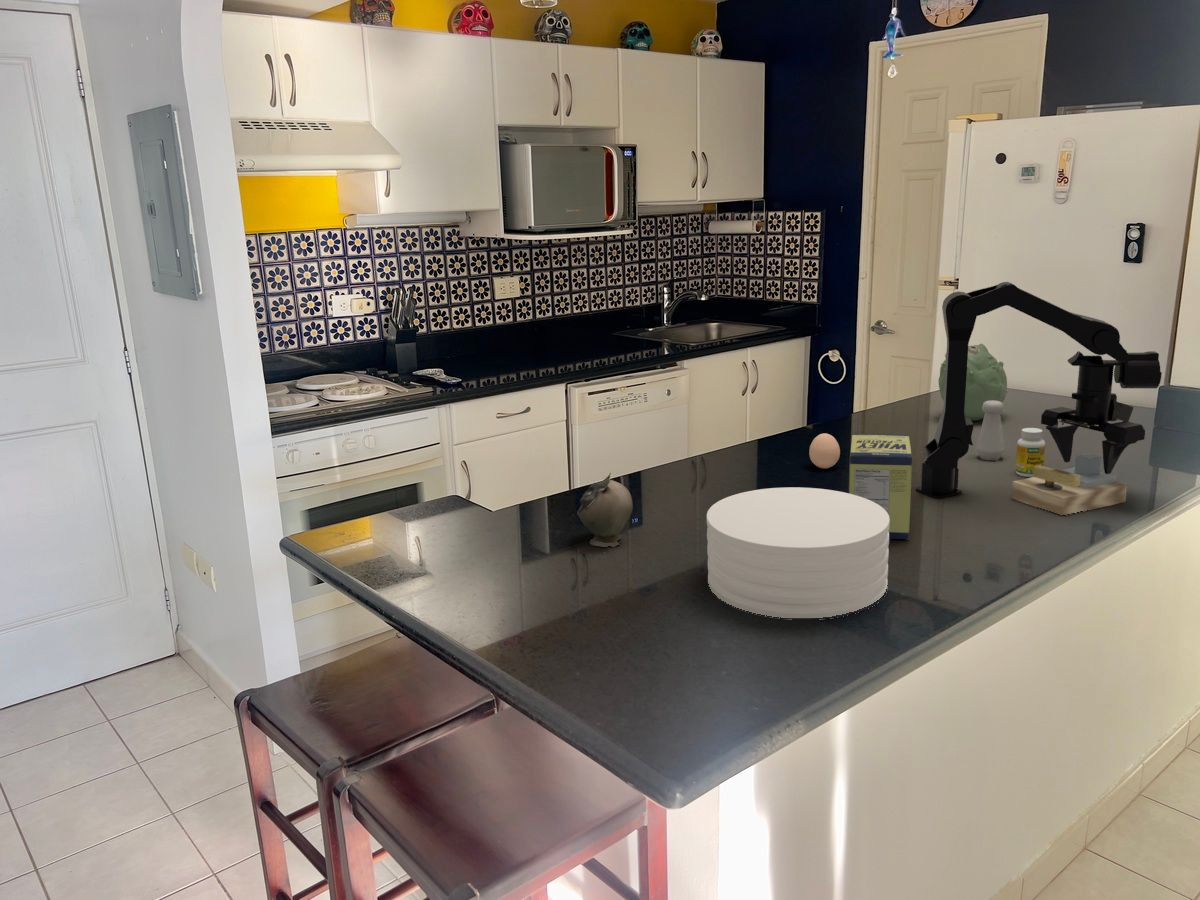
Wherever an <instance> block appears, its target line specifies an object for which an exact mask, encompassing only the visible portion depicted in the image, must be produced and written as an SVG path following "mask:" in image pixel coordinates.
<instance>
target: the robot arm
mask: <svg viewBox="0 0 1200 900" xmlns="http://www.w3.org/2000/svg"><path fill="white" fill-rule="evenodd" d="M1005 306H1008V307H1010V308H1012V309H1014V310H1017V311H1019V312H1021V313H1023V314H1026V315H1027V316H1029V317H1031V318H1034V319H1036V320H1038V321H1039V322H1042V323H1044V324H1047V325H1048V326H1050V327H1053V328H1054V329H1056V330H1059V331H1061V332H1063V333H1065V335H1067V336H1068V337H1069V338H1071V339H1072V340H1074V341H1076V342H1077V343H1078V344H1080V345H1081V346H1082V347H1083V348H1085V349H1086V350H1088V351H1089V352H1091V354H1092V353H1093V354H1094V355H1084V354H1083V352H1081V351H1079V350H1078V351H1076V353H1075V354H1074V355H1073V356H1071V357H1069V358H1068V359H1067V363H1068V364H1070V365H1071V366H1073V367H1078V377H1077V386H1076V387H1077V388H1076V392H1072V393H1071V399H1072V400H1075V409H1073V408H1070V407H1065V406H1058V407H1054V408H1048V409H1045V410H1044V411H1043V412H1042V413H1041V419H1040V424H1041V425H1045V429H1046V430H1047V431H1049V433H1050V435H1051V436H1052V439H1053V440H1054V442H1055V444H1056V446H1057V448H1058V450H1059V453H1060V455H1061V457H1062V460H1063V462H1064V463H1070V462H1071V459H1072V452H1073V446H1074V445H1073V443H1074V435H1075V433H1076V432H1077V430H1078V428H1079V427H1080V428H1083V429H1088V430H1092V431H1097V432H1101V433H1103V437H1104V438H1105V440H1102V441H1101V444H1102V446H1101V447H1102V448H1101V449H1102V459H1103V460H1102V462H1103V463H1102V464H1103V470H1104V471H1103V472H1104V473H1105V474H1111V473H1112V472H1113V469H1114V468H1115V466H1116V464H1117V462H1118V460H1119V458H1120V457H1121V454H1123V452H1124V450H1125V449H1126V448H1128V446H1130V445H1132V444H1136V443H1137V442H1139V441H1143V440H1145V436H1146V429H1145V427H1144V426H1143V425H1142V424H1141V423H1136V422H1132V421H1130V418H1131V416H1132V413H1133V411H1134V406H1132V405H1128V404H1126V403H1122V402H1119V401H1117V400H1118V396H1117V394H1116V393H1113V392H1112V390H1113V389H1112V388H1113V380H1114V382H1115V384H1119V387H1120V388H1121V389H1158V388H1159V386H1160V384H1161V381H1162V374H1163V372H1162V371H1161V363H1160V360H1159V359H1160V358H1159V357H1160V354H1159V353H1158V352H1156V351H1153V350H1152V351H1150V350H1149V351H1145V352H1128V351H1127V350H1126V349H1125V348H1124V346H1123V345H1122V344H1121V336H1120V335H1121V334H1120V331H1119V329H1118V328H1117V327H1115V326H1114V325H1112V324H1110V323H1108V322H1106V321H1104V320H1102V319H1099V318H1094V317H1090V316H1087V315H1083V314H1078V313H1073V312H1071V311H1069V310H1067V309H1065V308H1062V307H1060V306H1059V305H1058V306H1057V305H1056V304H1053V303H1051V302H1050V301H1047V300H1045V299H1042V298H1040V297H1038V296H1036V295H1034V294H1032V293H1030V292H1028V291H1026V290H1023V289H1022V288H1020V287H1018V286H1017V285H1015V284H1013V283H1012V282H1009V281H1002V282H1000V283H998V284H995V285H993V286H988V287H985V288H981V289H975V290H972V291H970V292H967V293H966V292H964V291H955V292H951V293H950V294H948V296H946V297H945V298H944V300H943V302H942V306H941V307H942V316H943V317H942V318H943V323H944V330H945V335H946V353H945V354H946V358H945V359H946V370H945V387H944V401H943V407H942V412H941V413H940V414H941V415H940V417H939V420H938V423H937V427H936V432H935V436H934V438H933V439H932V440H931V441H929V442H928V443H927V444H926V445H924V446H923V452H924V455H925V458H926V459H925V461H924V462H922V464H921V482H920V483H921V486H918V487H915V491H917V492H920V493H922V494H924V495H927V496H930V497H933V498H935V499H941V498H945V497H950V496H956V495H960V494H963V491H962V490H961V489H959V488H958V487H959V467H958V464H959V460H960V459H962V458H963V457H964V456H965V455H967V453H969V448H970V446H973V445H974V444H973V441H972V435H973V430H974V427H975V426H974V423H973V421H971V419H970V418H965V415H964V407H965V391H966V376H967V360H968V346H969V345H970V344H969V343H970V339H971V338H972V334H973V331H974V329H975V324H976V321H977V317H979V316H982V315H985V314H987V313H990V312H993V311H995V310H997V309H999V308H1003V307H1005ZM1104 355H1108V356H1109V357H1111V358H1112V359H1103V357H1102V356H1104ZM1118 420H1119V422H1115V421H1118ZM1109 422H1111V423H1109ZM1112 422H1113V423H1112Z"/></svg>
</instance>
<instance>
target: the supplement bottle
mask: <svg viewBox="0 0 1200 900" xmlns="http://www.w3.org/2000/svg"><path fill="white" fill-rule="evenodd" d="M1020 431H1021V433H1020V435H1021V437H1020V438H1019V439H1018V440H1017V443H1016V444H1017V445H1016V460H1015V474H1017V475H1018V476H1021V477H1025V478H1032V477H1033V472H1034V466H1038V465H1041V466H1045V457H1046V456H1045V455H1046V441H1045V440H1044V439H1042V438H1043V432H1044V431H1043V430H1042V428H1036V427H1025V428H1022V429H1021V430H1020Z"/></svg>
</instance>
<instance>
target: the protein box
mask: <svg viewBox="0 0 1200 900" xmlns="http://www.w3.org/2000/svg"><path fill="white" fill-rule="evenodd" d="M912 467H913V455H912V449H911V442H910V435H909V434H892V433H891V434H890V433H889V434H888V433H887V434H885V433H880V434H879V433H852V434H851V445H850V457H849V494H853V495H856V496H860V497H863V498H865V499H868V500H870V501H872V502H874V503H876V504H878V505H880V506H881V507H882V508H883V509H885V510H886V512H887V513H888V515H889V518H890V526H889V531H888V532H889V540H892V539H909V540H910V523H911V522H910V521H911V520H910V519H911V496H912V495H911V494H912V493H911V491H912V471H913V469H912Z"/></svg>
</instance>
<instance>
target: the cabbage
mask: <svg viewBox="0 0 1200 900" xmlns="http://www.w3.org/2000/svg"><path fill="white" fill-rule="evenodd" d="M944 357H945V360H944V361H943V362H942V363H940V368H939V377H938V388H939V393H940V397H941V399H942V400H943V402H944V387H945V370H946V353H945V354H944ZM1007 388H1008V380H1007V374H1006V371H1005V369H1004V362H1003V361H997V358H996V357H995V356H993V354H992V353H990V352H989V350H988V348H987V346H985V344H983V343H980V344H974V345H968V360H967V376H966V391H965V407H964V415H965V418H970V419H971V421H972V422H973V421H974V422H976V421H980V420H983V419H984V415H985V412H984V411H983V410H982V407H983V403H984V402H985V401H991V400H994V401H1000V402H1002V403H1003V402H1004V401H1005V399H1006V397H1007V394H1008V390H1007Z"/></svg>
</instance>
